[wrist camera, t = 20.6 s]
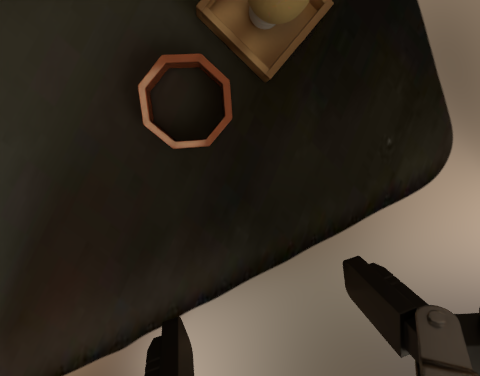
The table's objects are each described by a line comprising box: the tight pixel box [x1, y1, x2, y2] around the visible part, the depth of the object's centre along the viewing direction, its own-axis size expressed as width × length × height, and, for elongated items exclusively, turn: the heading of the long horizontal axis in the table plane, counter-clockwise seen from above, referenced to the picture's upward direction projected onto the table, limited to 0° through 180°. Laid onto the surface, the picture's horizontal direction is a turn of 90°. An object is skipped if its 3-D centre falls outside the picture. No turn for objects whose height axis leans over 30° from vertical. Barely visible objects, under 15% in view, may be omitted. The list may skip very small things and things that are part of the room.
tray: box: [196, 0, 334, 83], centre depth 32 cm, size 11×11×3 cm
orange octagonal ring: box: [138, 54, 232, 149], centre depth 33 cm, size 10×10×3 cm
